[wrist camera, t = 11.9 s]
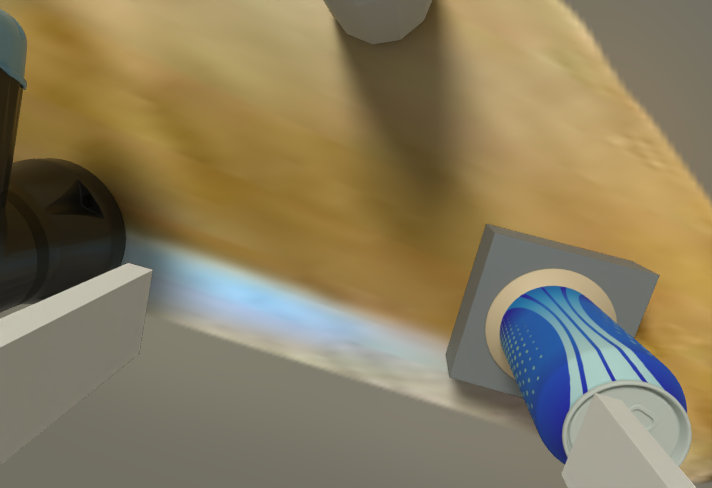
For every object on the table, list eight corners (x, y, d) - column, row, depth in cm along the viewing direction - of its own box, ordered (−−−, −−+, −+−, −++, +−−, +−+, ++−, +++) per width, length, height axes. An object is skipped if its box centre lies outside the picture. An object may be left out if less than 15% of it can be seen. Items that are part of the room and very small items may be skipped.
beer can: (605, 361, 41) (721, 492, 26) (508, 380, 42) (562, 515, 27) (587, 271, 40) (698, 351, 24) (487, 293, 41) (531, 383, 26)
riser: (445, 354, 48) (449, 378, 43) (486, 223, 45) (495, 233, 40) (581, 391, 47) (602, 421, 42) (632, 261, 44) (661, 276, 39)
